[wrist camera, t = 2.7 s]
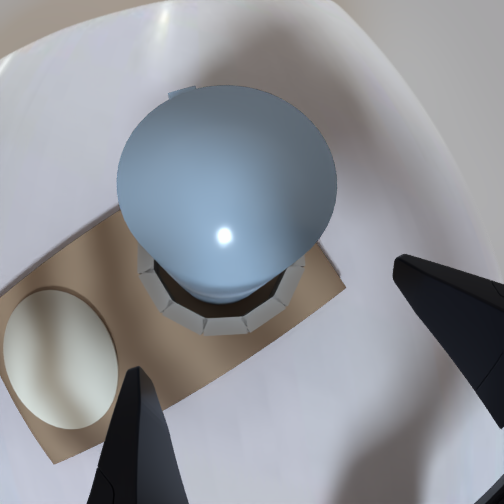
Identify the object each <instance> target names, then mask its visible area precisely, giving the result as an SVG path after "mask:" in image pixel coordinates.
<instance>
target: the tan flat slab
mask: <svg viewBox="0 0 504 504" xmlns="http://www.w3.org/2000/svg"><path fill="white" fill-rule="evenodd" d="M345 288H346V287H345V285H344V284H343V282H342V280H341V279H340V277H339V276H338V274H337V273H336V271H335V270H334V268H333V267H332V265H331V264H330V262H329V261H328V259H327V258H326V256H325V255H324V253H323V252H322V250H321V249H320V248H319V246H318V245H317V243H315V244H314V245H313V247H312V248H311V249H310V250H309V251H308V252H306V253H305V254H304V255H303V256H302V257H301V258H300V259H298V260H297V261H296V262H294V263H293V264H292V265H290V266H289V267H288V268H286V269H285V270H284V271H282V272H281V273H280V274H278V275H277V276H276V277H274V278H273V279H271V280H270V281H269V282H267V283H266V284H265V285H263V286H262V287H261V288H259V289H258V290H256V291H255V292H254V293H252V294H251V295H250V296H248V297H246V298H245V299H243V300H241V301H239V302H236V303H233V304H227V305H213V304H208V303H205V302H202V301H200V300H198V299H196V298H194V297H193V296H191V295H190V294H189V293H187V292H186V291H185V290H184V289H183V288H182V287H181V286H180V285H179V284H178V283H177V282H176V281H175V280H174V279H173V278H172V277H171V276H170V275H169V274H168V273H167V272H166V271H165V270H164V269H163V268H162V267H161V266H160V265H159V263H158V262H157V261H156V260H155V259H154V258H153V257H152V256H151V255H150V254H149V253H148V252H147V251H146V250H145V249H144V248H143V247H142V246H141V245H140V244H139V242H138V241H137V240H136V238H135V237H134V236H133V234H132V233H131V231H130V230H129V228H128V226H127V224H126V222H125V220H124V218H123V215H122V212H121V210H119V211H118V212H116V213H115V214H113V215H111V216H110V217H108V218H107V219H105V220H104V221H102V222H101V223H99V224H98V225H96V226H95V227H93V228H92V229H90V230H89V231H87V232H86V233H84V234H83V235H82V236H80V237H79V238H77V239H76V240H74V241H73V242H72V243H70V244H69V245H67V246H66V247H65V248H63V249H62V250H60V251H59V252H58V253H56V254H55V255H54V256H52V257H51V258H50V259H48V260H47V261H46V262H44V263H43V264H42V265H40V266H39V267H38V268H36V269H35V270H34V271H33V272H31V273H30V274H29V275H27V276H26V277H25V278H24V279H22V280H21V281H20V282H19V283H17V284H16V285H15V286H14V287H13V288H11V289H10V290H9V291H8V292H7V293H5V294H4V295H3V296H2V297H1V298H0V376H1V378H2V380H3V382H4V384H5V386H6V388H7V390H8V392H9V394H10V396H11V398H12V400H13V401H14V403H15V405H16V407H17V409H18V410H19V412H20V414H21V416H22V417H23V419H24V421H25V422H26V424H27V426H28V427H29V429H30V430H31V432H32V434H33V435H34V437H35V438H36V440H37V441H38V443H39V444H40V446H41V447H42V449H43V450H44V452H45V453H46V454H47V456H48V457H49V459H50V460H51V461H52V463H53V464H57V463H59V462H61V461H64V460H66V459H68V458H70V457H73V456H75V455H77V454H79V453H81V452H83V451H86V450H88V449H90V448H92V447H94V446H96V445H98V444H100V443H102V442H104V441H105V437H106V434H107V431H108V427H109V424H110V421H111V417H112V414H113V411H114V408H115V405H116V401H117V398H118V395H119V392H120V389H121V386H122V383H123V380H124V377H125V374H126V372H127V370H128V369H130V368H133V367H136V366H140V367H141V368H142V369H143V370H144V371H145V373H146V374H147V375H148V376H149V378H150V379H151V380H152V382H153V384H154V387H155V390H156V393H157V397H158V400H159V403H160V406H161V409H162V411H163V410H165V409H167V408H168V407H170V406H172V405H174V404H175V403H177V402H179V401H181V400H182V399H184V398H186V397H187V396H189V395H191V394H192V393H194V392H196V391H197V390H199V389H201V388H202V387H204V386H206V385H207V384H209V383H210V382H212V381H214V380H215V379H217V378H219V377H220V376H222V375H223V374H225V373H226V372H228V371H230V370H231V369H233V368H234V367H236V366H237V365H239V364H240V363H242V362H243V361H245V360H247V359H248V358H250V357H251V356H253V355H254V354H256V353H257V352H259V351H260V350H261V349H263V348H264V347H266V346H267V345H269V344H270V343H272V342H273V341H275V340H276V339H278V338H279V337H280V336H282V335H283V334H285V333H286V332H288V331H289V330H290V329H292V328H293V327H295V326H296V325H297V324H299V323H300V322H301V321H303V320H304V319H306V318H307V317H308V316H310V315H311V314H312V313H314V312H315V311H316V310H318V309H319V308H321V307H322V306H323V305H324V304H326V303H327V302H328V301H330V300H331V299H332V298H334V297H335V296H336V295H338V294H339V293H340V292H342V291H343V290H344V289H345Z"/></svg>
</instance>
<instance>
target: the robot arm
mask: <svg viewBox="0 0 504 504" xmlns="http://www.w3.org/2000/svg"><path fill="white" fill-rule="evenodd" d="M393 280H394V282H395V284H396V285H397V286H398V288H399V289H400V291H401V292H402V294H403V295H404V297H405V298H406V300H407V301H408V303H409V304H410V306H411V307H412V309H413V310H414V311H415V313H416V314H417V315H418V317H419V318H420V319H421V320H422V322H423V323H424V324H425V325H426V327H427V328H428V329H429V330H430V332H431V333H432V334H433V335H434V337H435V338H436V339H437V341H438V342H439V343H440V344H441V346H442V347H443V348H444V350H445V351H446V352H447V353H448V355H449V356H450V357H451V359H452V360H453V361H454V363H455V364H456V365H457V367H458V368H459V370H460V371H461V372H462V374H463V375H464V376H465V378H466V379H467V381H468V382H469V383H470V385H471V386H472V388H473V389H474V390H475V392H476V394H477V395H478V396H479V398H480V399H481V401H482V402H483V404H484V405H485V407H486V408H487V410H488V411H489V413H490V414H491V416H492V417H493V419H494V420H495V422H496V423H497V425H498V426H499V428H500V429H502V428H503V427H504V284H501V283H498V282H495V281H492V280H491V281H490V280H489V279H485V278H482V277H479V276H476V275H473V274H470V273H467V272H464V271H460V270H457V269H454V268H451V267H448V266H444V265H441V264H438V263H434V262H431V261H428V260H424V259H421V258H418V257H414V256H411V255H407V254H403V255H401V256H399V257H397V258H396V259H395V261H394V268H393ZM87 504H189V503H188V499H187V496H186V493H185V490H184V486H183V483H182V479H181V476H180V472H179V469H178V465H177V461H176V458H175V454H174V450H173V446H172V442H171V438H170V433H169V430H168V426H167V423H166V420H165V417H164V414H163V412H162V409H161V406H160V403H159V400H158V397H157V393H156V390H155V387H154V384H153V382H152V380H151V379H150V378H149V376H148V375H147V374H146V373H145V371H144V370H143V369H142V368H141V367H140V366H136V367H133V368H130V369H128V370H127V372H126V374H125V377H124V380H123V383H122V386H121V389H120V392H119V395H118V398H117V401H116V405H115V408H114V411H113V414H112V417H111V421H110V424H109V427H108V431H107V434H106V437H105V441H104V444H103V448H102V451H101V455H100V459H99V462H98V468H97V470H96V474H95V477H94V481H93V485H92V488H91V492H90V495H89V498H88V501H87ZM474 504H504V474H503V475H502V476H501V477H500V479H499V480H498V481H497V482H496V483H495V484H494V485H493V486H492V487H491V488H490V489H489V490H488V491H487V492H486V493H485V494H484V495H483V496H482V497H481V498H480V499H479V500H478V501H476V502H475V503H474Z"/></svg>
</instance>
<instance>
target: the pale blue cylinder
mask: <svg viewBox="0 0 504 504" xmlns="http://www.w3.org/2000/svg"><path fill="white" fill-rule="evenodd" d="M168 97H169V100H168V101H166V102H164V103H163V104H161V105H159V106H158V107H157V108H155V109H154V110H153V111H152V112H150V113H149V114H148V115H147V116H146V117H145V118H144V119H143V120H142V121H141V122H140V123H139V125H138V126H137V127H136V128H135V130H134V131H133V132H132V134H131V136H130V137H129V139H128V141H127V143H126V145H125V147H124V149H123V152H122V154H121V158H120V162H119V165H118V172H117V195H118V201H119V206H120V209H121V212H122V215H123V218H124V220H125V222H126V224H127V226H128V228H129V230H130V231H131V233H132V234H133V236H134V237H135V238H136V240H137V241H138V242H139V244H140V245H141V246H142V247H143V248H144V249H145V250H146V251H147V252H148V253H149V254H150V255H151V256H152V257H153V258H154V259H155V260H156V261H157V262H158V263H159V265H160V266H161V267H162V268H163V269H164V270H165V271H166V272H167V273H168V274H169V275H170V276H171V277H172V278H173V279H174V280H175V281H176V282H177V283H178V284H179V285H180V286H181V287H182V288H183V289H184V290H185V291H186V292H187V293H189V294H190V295H191V296H193V297H194V298H196V299H198V300H200V301H202V302H205V303H208V304H213V305H227V304H233V303H236V302H239V301H241V300H243V299H245V298H246V297H248V296H250V295H251V294H252V293H254V292H255V291H256V290H258V289H259V288H261V287H262V286H263V285H265V284H266V283H267V282H269V281H270V280H271V279H273V278H274V277H276V276H277V275H278V274H280V273H281V272H282V271H284V270H285V269H286V268H288V267H289V266H290V265H292V264H293V263H294V262H296V261H297V260H298V259H300V258H301V257H302V256H303V255H304V254H305V253H306V252H308V251H309V250H310V249H311V248H312V247H313V245H314V244H315V243H316V242H317V241H318V239H319V238H320V237H321V235H322V234H323V232H324V230H325V229H326V227H327V225H328V223H329V221H330V218H331V216H332V213H333V210H334V206H335V202H336V194H337V175H336V170H335V164H334V161H333V158H332V155H331V152H330V149H329V147H328V145H327V143H326V141H325V139H324V138H323V136H322V135H321V133H320V132H319V130H318V129H317V128H316V127H315V125H314V124H313V123H312V122H311V121H310V120H309V119H308V118H307V117H306V116H305V115H304V114H303V113H302V112H301V111H299V110H298V109H297V108H295V107H294V106H292V105H291V104H289V103H288V102H286V101H284V100H282V99H281V98H279V97H276V96H274V95H272V94H270V93H267V92H264V91H261V90H258V89H253V88H248V87H242V86H233V85H219V86H209V87H203V88H198V89H196V86H192V87H188V88H184V89H181V90H177V91H174V92H171V93H168Z"/></svg>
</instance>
